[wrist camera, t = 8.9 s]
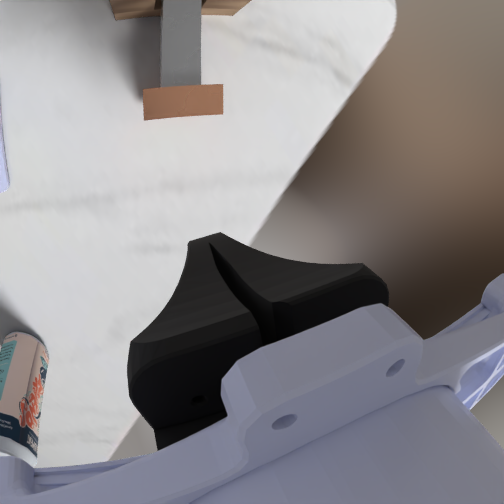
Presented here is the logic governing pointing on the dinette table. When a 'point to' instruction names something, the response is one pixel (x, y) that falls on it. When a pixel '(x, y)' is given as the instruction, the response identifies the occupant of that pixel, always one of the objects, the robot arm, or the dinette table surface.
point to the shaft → (181, 67)
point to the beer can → (21, 395)
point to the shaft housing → (149, 4)
